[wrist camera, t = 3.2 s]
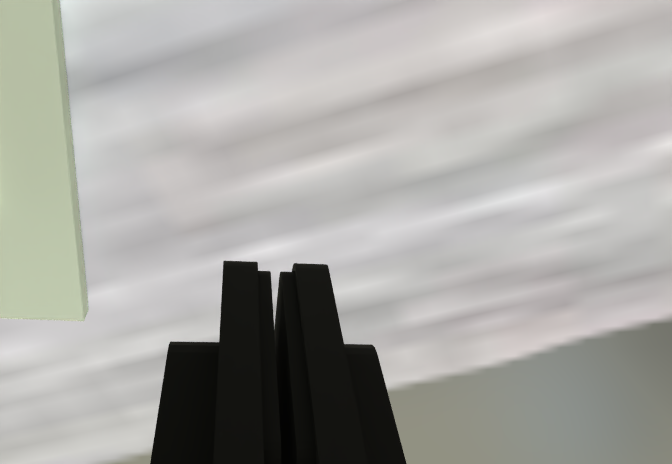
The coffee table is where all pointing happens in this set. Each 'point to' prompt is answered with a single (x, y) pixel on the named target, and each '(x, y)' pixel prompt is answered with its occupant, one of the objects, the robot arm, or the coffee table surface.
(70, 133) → the rubber mat
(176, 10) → the coffee table surface
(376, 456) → the robot arm
